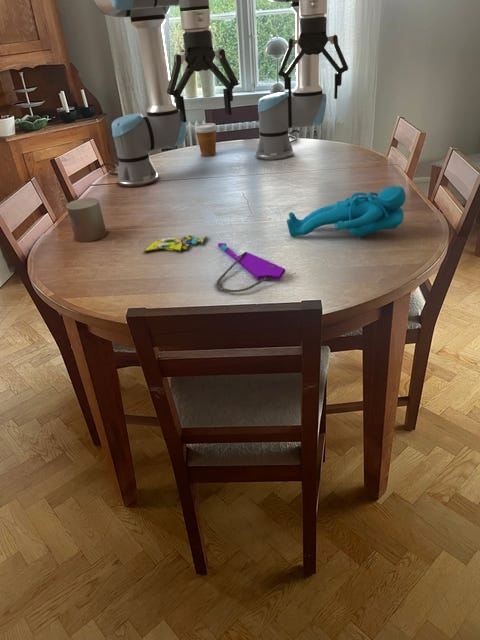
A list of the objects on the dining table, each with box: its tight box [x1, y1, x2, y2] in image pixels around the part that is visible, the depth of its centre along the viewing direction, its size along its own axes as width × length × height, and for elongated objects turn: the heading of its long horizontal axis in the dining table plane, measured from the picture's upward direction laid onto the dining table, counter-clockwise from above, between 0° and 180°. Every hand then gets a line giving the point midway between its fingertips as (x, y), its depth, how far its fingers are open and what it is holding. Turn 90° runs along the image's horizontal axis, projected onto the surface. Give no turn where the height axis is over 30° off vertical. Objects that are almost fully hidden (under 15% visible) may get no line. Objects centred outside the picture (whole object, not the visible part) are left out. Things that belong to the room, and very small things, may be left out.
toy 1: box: [144, 234, 207, 254], centre depth 130 cm, size 10×1×15 cm
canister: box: [65, 197, 108, 243], centre depth 138 cm, size 9×9×10 cm
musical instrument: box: [216, 242, 286, 293], centre depth 114 cm, size 24×2×20 cm
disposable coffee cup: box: [194, 122, 218, 157], centre depth 207 cm, size 10×10×12 cm
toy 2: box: [286, 185, 407, 238], centre depth 125 cm, size 17×11×30 cm
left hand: (206, 118), depth 136 cm, fingers open, 13 cm apart
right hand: (312, 99), depth 144 cm, fingers open, 13 cm apart
